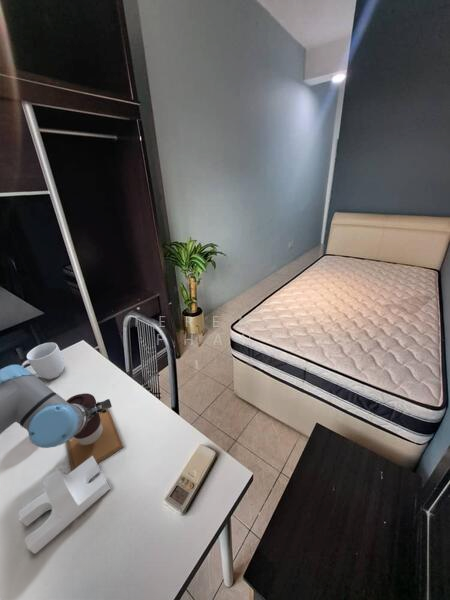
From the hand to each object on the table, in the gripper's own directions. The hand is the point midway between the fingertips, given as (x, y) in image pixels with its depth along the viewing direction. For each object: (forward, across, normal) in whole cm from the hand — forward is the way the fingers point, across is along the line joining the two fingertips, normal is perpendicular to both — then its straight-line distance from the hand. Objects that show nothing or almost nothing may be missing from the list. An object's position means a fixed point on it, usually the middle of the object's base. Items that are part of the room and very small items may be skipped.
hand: (84, 415), depth 79 cm
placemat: (+4, 0, -8) cm, 9 cm away
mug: (+34, -12, +22) cm, 43 cm away
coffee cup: (+2, 0, -6) cm, 7 cm away
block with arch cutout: (-7, -8, -19) cm, 22 cm away
